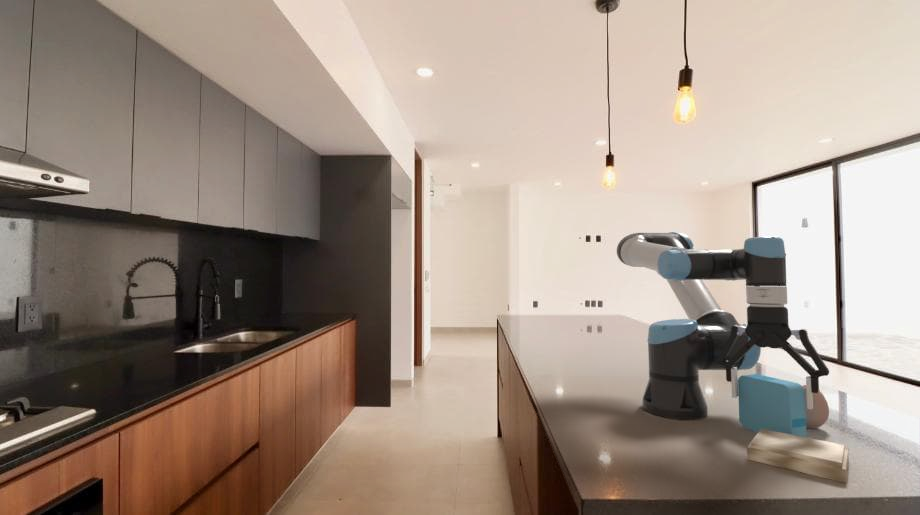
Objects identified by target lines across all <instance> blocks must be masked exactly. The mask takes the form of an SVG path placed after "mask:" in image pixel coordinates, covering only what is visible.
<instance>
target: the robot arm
mask: <svg viewBox="0 0 920 515" xmlns="http://www.w3.org/2000/svg"><path fill="white" fill-rule="evenodd" d="M785 250H786V248H785V241H784V239H783V238H782V237H780V236H754V237H748V238H746V239H745V240H744V244H743V248H739V249H695V248H694V243H693V240H692V239H691V238H690V237H689V236H688V235H687V234H685V233H682V232H674V231H673V232H672V231H671V232H634V233H630V234H628V235H626V236H625V237H623V238H621V240H620V241H619V242H618V244H617V247H616V255H617V258H618V259H619V261H620V262H621V263H622V264H624V265H626V266H629V267H635V268H637V267H639V268H646V269H649V270H652V271H655V272H656V273H657V274H658V275H659V276H661V278H662V279H665V280H666V281H667V283H668V284H669V286H670V288H671V289H672V292H673V294H674V295H675V297H676V299H677V300H678V302H679V303H680V305H681V307H682V309H683V311H684V313H685V314H686V316H687V317H688V318H679V319H676V318H675V319H672V318H671V319H665V320H664V319H663V320H660V321H655V322H652V323H651V324H650V325H649V327H648V333H647V334H648V335H647V343H648V344H647V347H648V350H647V351H648V382H647V385H646V387H645V390H644V393H643V397H642V409H643V410H644V411H646V412H648V413H650V414H652V415H656V416H660V417H663V418H669V419H670V418H671V419H677V420H699V419H700V420H701V419H705V418H706V417H707V416H708V414H709V413H708V411H709V410H708V404H707V401H706V399H705V396H704V394H703V391H702V388H701V385H700V383H699V382H700V381H699V380H700V379H699V376H700V375H699V371H725V376H726V377H725V378H726V379H725V380H726V382H728V383H729V382H730V384H731V398H734V399H737V397H738V398H739V395H738V379H739V377H738V376H739V375H738V372H739V371H745V370H746V371H747V370H751V369H752V368H754V367H755V366H756V364H757V363H758V362H759V360H760V356H761V350H762V348H769V349H779V348H782V349H783V351H785V352H786V353H787V354H788V355H789V356H790V357H791V358H792V359H793V360H794V361H795V362H796V363H797V364H798V365H799V367H801V368H802V370H804V371H805V372H806V373H807V374H808V375H806V377H805V385H806V390H807V409H811V410H812V409H813V393H818V391H819V390H820V383H819V382H820V381H819V378H820V377H824V376H825V377H826V376H828V375H829V374H830V370H829V368H828V366H827V365H826V363H825V362H824V361H823V359H822V358H821V356H820V354H819V353H818V351H817V349H816V348H815V347H814V344H812V341H811V340H810V338H809V335H808V334H809V333H808V330H807V329H805V328H801V329H791V328H790V325H789V309H788V307H787V306H786V305H788V287H787V264H786V263H787V260H786V257H787V253H786V251H785ZM703 280H705V281H706V280H709V281H717V280H718V281H740V280H741V281H742V280H745V293H746V294H745V295H746V296H745V297H746V299H745V301H746V303H747V304H748V306H747V307H746V318H747V320H746V322H747V323H746V324H745V323H744V324H741V323H739V322H738V320H737V318H736V317H735V316H734V314H733V313H731V312H729V311H725V310H723V309H722V308H721V305H719V303H718V302H717V300H716V298H715V297H714V296H713V294H712V293H711V291H710V290H709V288H708V287H707V285H706V284H705V282H704V281H703ZM791 336H794V337H795V339H796V340H798V341H800V342H801V345H802V347H804V349H805V350H806V352H807V354H808V355H809V357H810V358H811V360H812V361H813V363H814V364H815V366H816V367H817V369H815V367H813V366H812V365H811V364H810V363H809V361H808V360H806V359H805V357H804V356H802V354H800V353H799V352H798V351H797V349H795V348H794V346H793V345H791V343H790V342H788V340H789V339H790V338H791Z"/></svg>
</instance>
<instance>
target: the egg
mask: <svg viewBox="0 0 920 515" xmlns="http://www.w3.org/2000/svg"><path fill="white" fill-rule="evenodd" d="M801 386H802V387H803V388H804V390H805V409H806V428H809V429H818V428H820V427H822V426H824V425H825V424H826V422H827V421H828V419H829V415H830V407H829V404H828V401H827V399H826V397H825V396H824V394H823V393H822V391H820V389H819V391H818V393H813V409H812V410H811V409H807V390H806V384H804V385H801Z"/></svg>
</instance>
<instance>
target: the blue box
mask: <svg viewBox="0 0 920 515" xmlns="http://www.w3.org/2000/svg"><path fill="white" fill-rule="evenodd" d="M802 386H803V385H801V384H800V383H798V382H794V381H789V380H785V379H780V378H776V377H771V376H766V375H762V374H755V373H754V374H743V375H740V376H739V377H738V416H739V417H738V420H739V423H740V425H741V426H742V427H743V428H745V429H746V430H750V431H752V432H755V433H758V432H759V431H760V429H765V430H770V431H775V432H780V433H785V434H790V435H796V436H801V437H806V438H807V427H806V409H805V390H804V388H803V387H802Z"/></svg>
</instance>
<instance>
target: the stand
mask: <svg viewBox="0 0 920 515" xmlns="http://www.w3.org/2000/svg"><path fill="white" fill-rule="evenodd" d="M746 451H747V452H746V453H747V454H746V455H747V457H746V458H747V460H748V461H752V462H757V463H762V464H765V465H768V466H769V465H770V466H774V467H777V468H778V467H779V468H783V469H787V470H790V471H793V472H799V473H804V474H806V475H807V474H808V475H811V476H816V477H820V478H823V479H826V480H831V481H835V482H840V483H844V484H847V482H848V473H849V471H848V470H849V458H850V457H849V449H848V448H845V444H840V443H836V442H830V441H826V440H820V439H816V438H810V437H807V436H806V437H801V436H796V435H790V434H785V433H780V432H775V431H770V430H765V429H760V431H759V432H756V434H755V436H754V437H753V439H752V440H751V441H750V443H749V444H748V445H747V447H746Z"/></svg>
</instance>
